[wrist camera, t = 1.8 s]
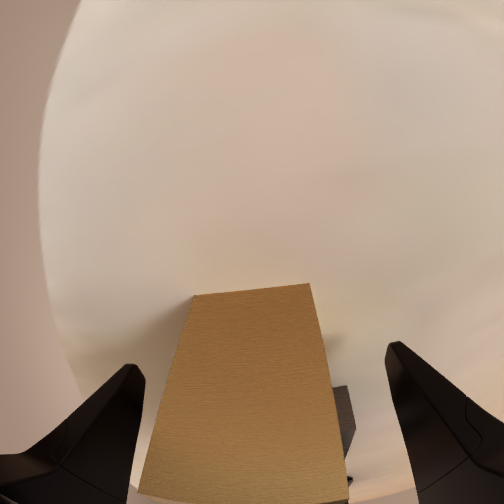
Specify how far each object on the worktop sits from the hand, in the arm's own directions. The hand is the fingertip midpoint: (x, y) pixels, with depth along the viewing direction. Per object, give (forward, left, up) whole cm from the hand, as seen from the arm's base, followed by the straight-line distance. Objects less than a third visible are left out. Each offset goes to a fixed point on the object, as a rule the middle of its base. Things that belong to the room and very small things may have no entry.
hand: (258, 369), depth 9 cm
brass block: (0, 0, -2) cm, 2 cm away
